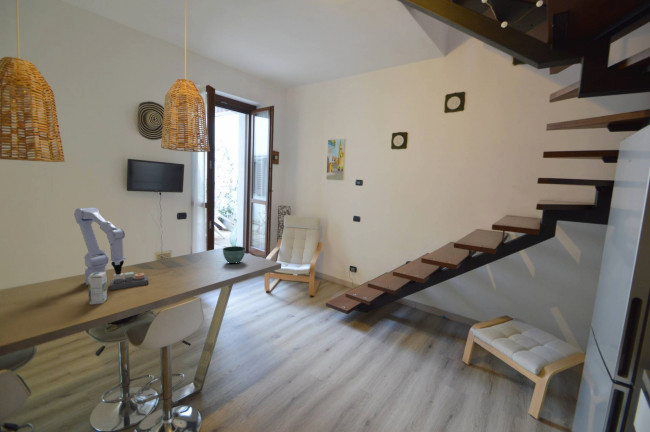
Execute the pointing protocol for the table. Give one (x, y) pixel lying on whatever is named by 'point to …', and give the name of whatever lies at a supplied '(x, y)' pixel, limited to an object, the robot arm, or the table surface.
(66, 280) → the table surface
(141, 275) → the terracotta key
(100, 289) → the syrup box
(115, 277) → the ivory key
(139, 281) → the keypad plate
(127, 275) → the sage key
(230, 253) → the flower pot
